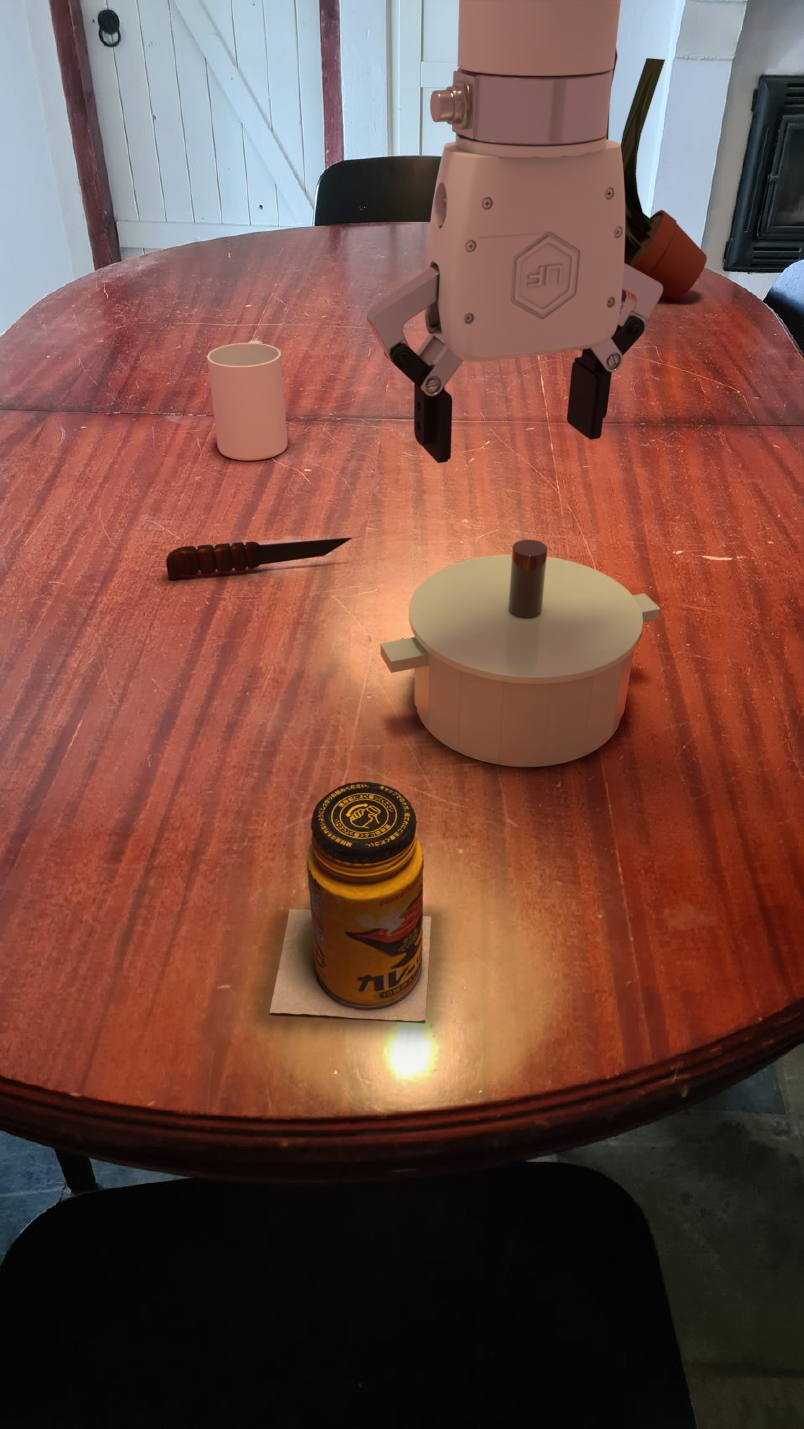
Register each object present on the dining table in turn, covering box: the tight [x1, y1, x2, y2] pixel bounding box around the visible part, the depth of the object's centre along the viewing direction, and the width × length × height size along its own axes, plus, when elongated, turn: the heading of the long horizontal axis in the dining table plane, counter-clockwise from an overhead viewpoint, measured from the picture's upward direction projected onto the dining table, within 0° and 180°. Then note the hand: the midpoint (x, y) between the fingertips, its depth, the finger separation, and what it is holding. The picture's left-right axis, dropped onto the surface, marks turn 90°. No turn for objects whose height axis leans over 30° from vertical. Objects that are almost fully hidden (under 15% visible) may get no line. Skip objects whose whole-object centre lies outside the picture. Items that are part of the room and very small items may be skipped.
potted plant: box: [606, 49, 708, 301], centre depth 152 cm, size 45×39×43 cm
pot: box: [379, 592, 661, 768], centre depth 76 cm, size 16×21×8 cm
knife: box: [165, 537, 353, 581], centre depth 94 cm, size 17×1×3 cm, turn 99°
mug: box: [206, 340, 289, 461], centre depth 116 cm, size 12×8×10 cm, turn 178°
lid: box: [408, 539, 644, 684], centre depth 72 cm, size 17×17×6 cm
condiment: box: [269, 781, 432, 1022], centre depth 55 cm, size 7×8×12 cm
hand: (510, 442), depth 61 cm, fingers open, 9 cm apart
